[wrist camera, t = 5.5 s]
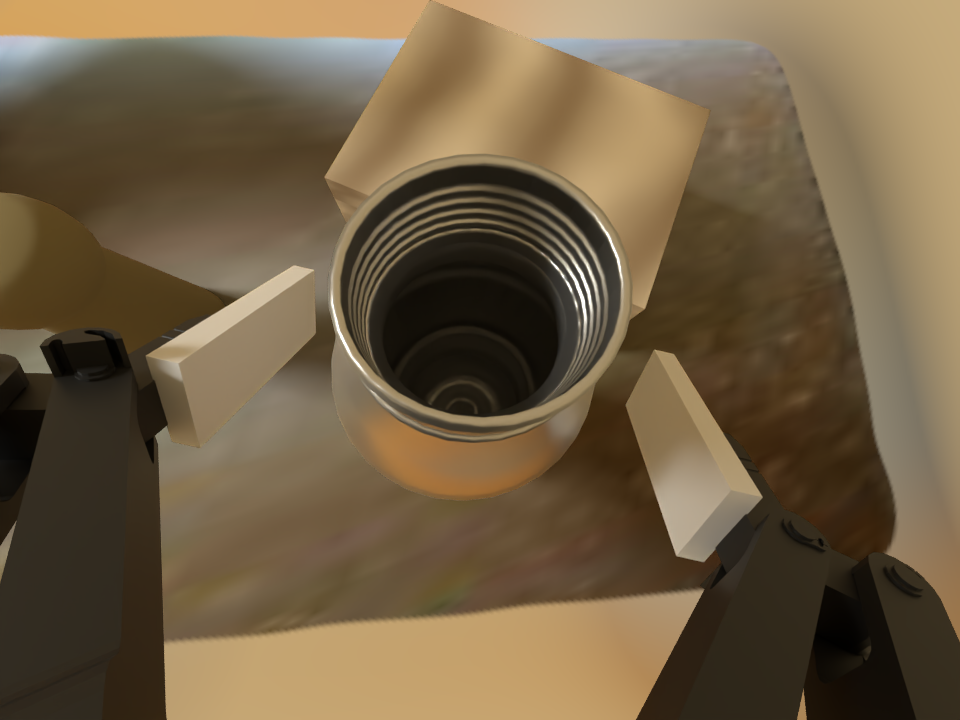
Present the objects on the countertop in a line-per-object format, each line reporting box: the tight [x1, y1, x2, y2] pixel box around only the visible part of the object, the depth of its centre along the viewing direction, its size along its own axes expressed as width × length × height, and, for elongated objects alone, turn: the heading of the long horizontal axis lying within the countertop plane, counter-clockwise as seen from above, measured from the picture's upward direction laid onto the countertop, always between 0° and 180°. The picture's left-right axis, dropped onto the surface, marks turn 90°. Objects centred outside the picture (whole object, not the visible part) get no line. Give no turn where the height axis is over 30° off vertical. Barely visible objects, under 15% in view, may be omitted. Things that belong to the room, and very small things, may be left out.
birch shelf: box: [324, 0, 711, 319], centre depth 23 cm, size 16×12×8 cm
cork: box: [0, 192, 225, 354], centre depth 19 cm, size 6×6×11 cm
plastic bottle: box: [328, 154, 633, 501], centre depth 14 cm, size 6×7×20 cm
